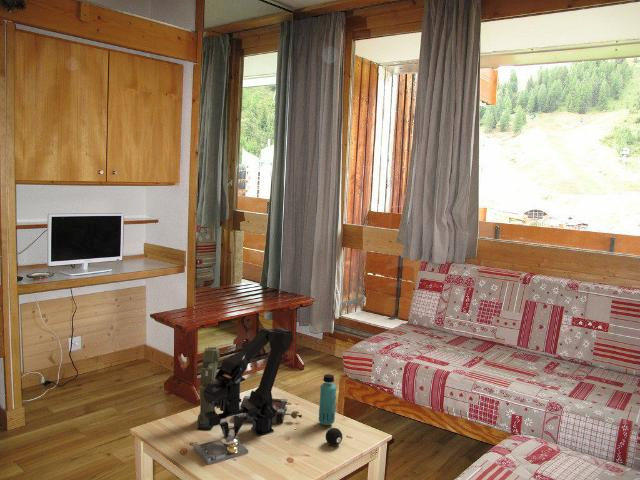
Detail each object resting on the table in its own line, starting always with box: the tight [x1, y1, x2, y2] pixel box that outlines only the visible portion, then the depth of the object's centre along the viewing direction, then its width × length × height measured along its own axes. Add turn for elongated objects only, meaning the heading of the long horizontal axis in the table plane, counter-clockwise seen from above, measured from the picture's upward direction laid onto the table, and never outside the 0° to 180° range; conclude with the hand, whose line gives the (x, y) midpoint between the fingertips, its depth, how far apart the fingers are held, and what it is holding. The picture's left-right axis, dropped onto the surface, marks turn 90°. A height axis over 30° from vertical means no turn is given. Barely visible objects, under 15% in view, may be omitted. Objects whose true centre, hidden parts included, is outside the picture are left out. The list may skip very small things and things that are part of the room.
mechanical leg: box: [197, 346, 221, 431], centre depth 208 cm, size 14×7×30 cm, turn 179°
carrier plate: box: [193, 438, 249, 466], centre depth 189 cm, size 15×12×4 cm
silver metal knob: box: [221, 425, 240, 446], centre depth 193 cm, size 6×6×6 cm
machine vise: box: [239, 395, 303, 425], centre depth 218 cm, size 15×25×5 cm, turn 86°
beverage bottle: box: [318, 373, 337, 426], centre depth 212 cm, size 6×7×20 cm
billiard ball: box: [325, 427, 343, 447], centre depth 197 cm, size 6×6×6 cm
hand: (230, 437), depth 193 cm, fingers closed on silver metal knob, 3 cm apart
